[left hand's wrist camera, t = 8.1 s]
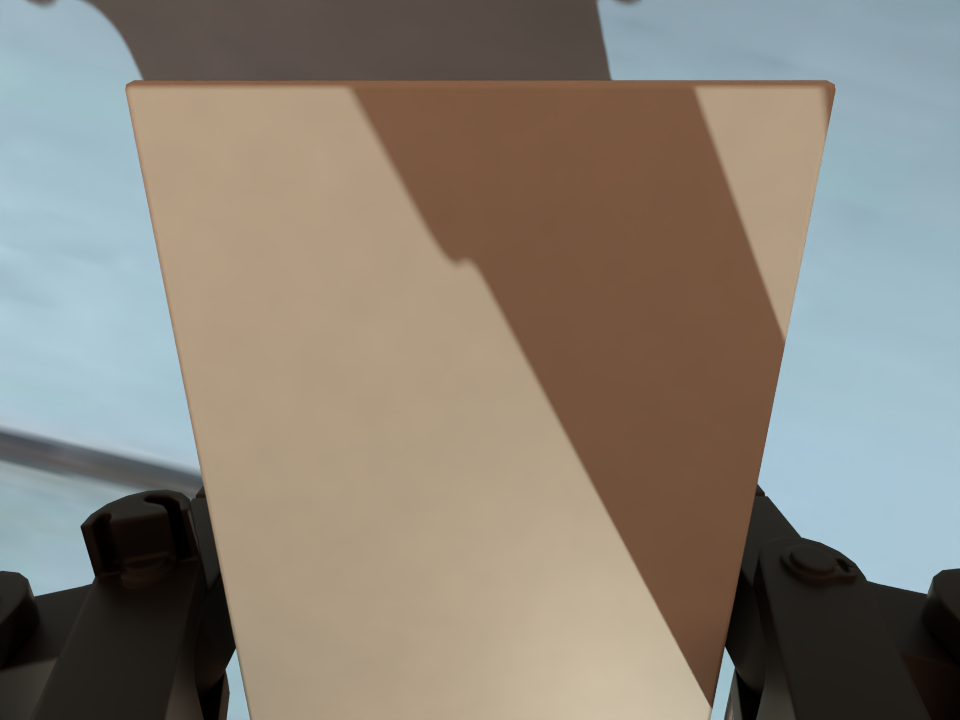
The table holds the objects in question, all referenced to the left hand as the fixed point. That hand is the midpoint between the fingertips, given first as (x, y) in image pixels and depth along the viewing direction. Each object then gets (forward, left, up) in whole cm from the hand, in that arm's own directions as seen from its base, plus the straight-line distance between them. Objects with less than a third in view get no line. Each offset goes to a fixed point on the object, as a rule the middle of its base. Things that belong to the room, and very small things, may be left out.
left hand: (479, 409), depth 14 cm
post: (+25, +19, 0) cm, 32 cm away
